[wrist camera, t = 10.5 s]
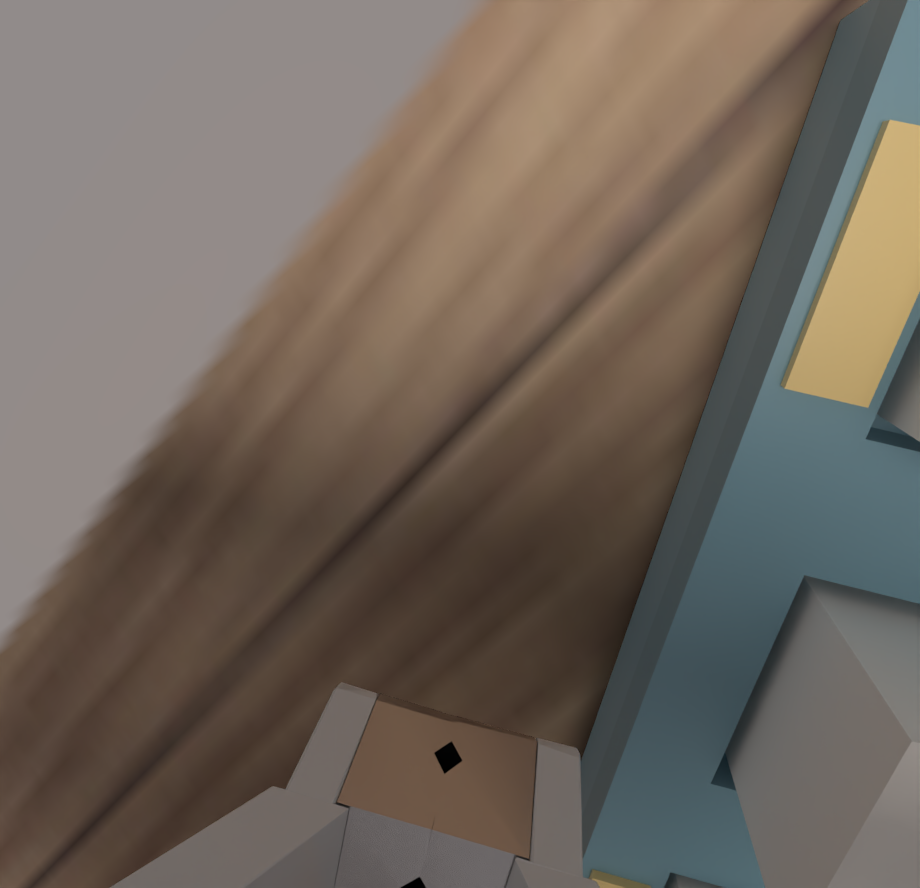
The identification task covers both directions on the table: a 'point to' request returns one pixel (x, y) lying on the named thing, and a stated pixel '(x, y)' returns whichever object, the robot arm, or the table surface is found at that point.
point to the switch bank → (775, 473)
